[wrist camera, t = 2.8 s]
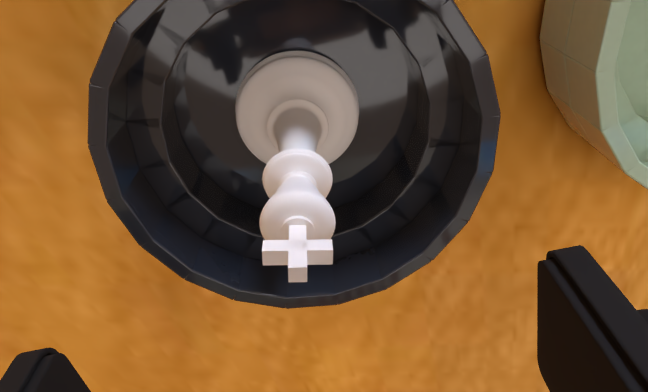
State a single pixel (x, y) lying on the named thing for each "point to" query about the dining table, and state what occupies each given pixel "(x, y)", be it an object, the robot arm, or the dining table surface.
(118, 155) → the dark bowl
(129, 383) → the dining table surface
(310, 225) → the chess piece
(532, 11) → the dining table surface
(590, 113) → the green bowl
